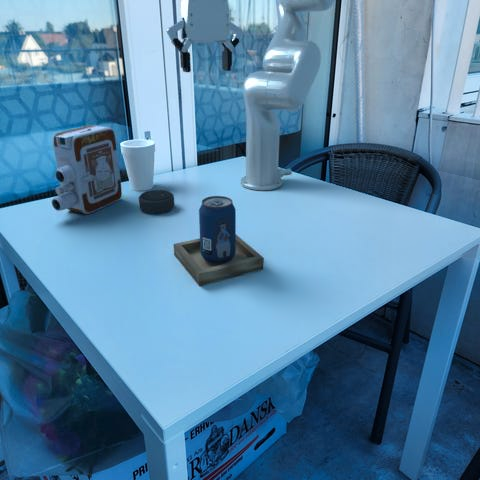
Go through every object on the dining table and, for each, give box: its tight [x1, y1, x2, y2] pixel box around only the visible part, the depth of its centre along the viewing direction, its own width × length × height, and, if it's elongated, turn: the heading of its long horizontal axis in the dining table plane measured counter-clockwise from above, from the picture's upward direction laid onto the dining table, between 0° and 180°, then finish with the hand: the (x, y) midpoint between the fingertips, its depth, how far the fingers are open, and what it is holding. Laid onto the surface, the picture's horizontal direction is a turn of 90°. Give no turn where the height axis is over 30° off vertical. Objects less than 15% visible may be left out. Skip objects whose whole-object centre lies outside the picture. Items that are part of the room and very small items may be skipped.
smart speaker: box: [138, 189, 175, 215], centre depth 110 cm, size 9×9×4 cm
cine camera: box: [51, 124, 123, 215], centre depth 106 cm, size 9×19×20 cm, turn 152°
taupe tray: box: [173, 234, 265, 287], centre depth 84 cm, size 13×13×2 cm
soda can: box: [198, 195, 237, 265], centre depth 82 cm, size 7×7×12 cm
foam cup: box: [120, 138, 156, 192], centre depth 122 cm, size 10×9×13 cm
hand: (207, 71), depth 95 cm, fingers open, 9 cm apart
